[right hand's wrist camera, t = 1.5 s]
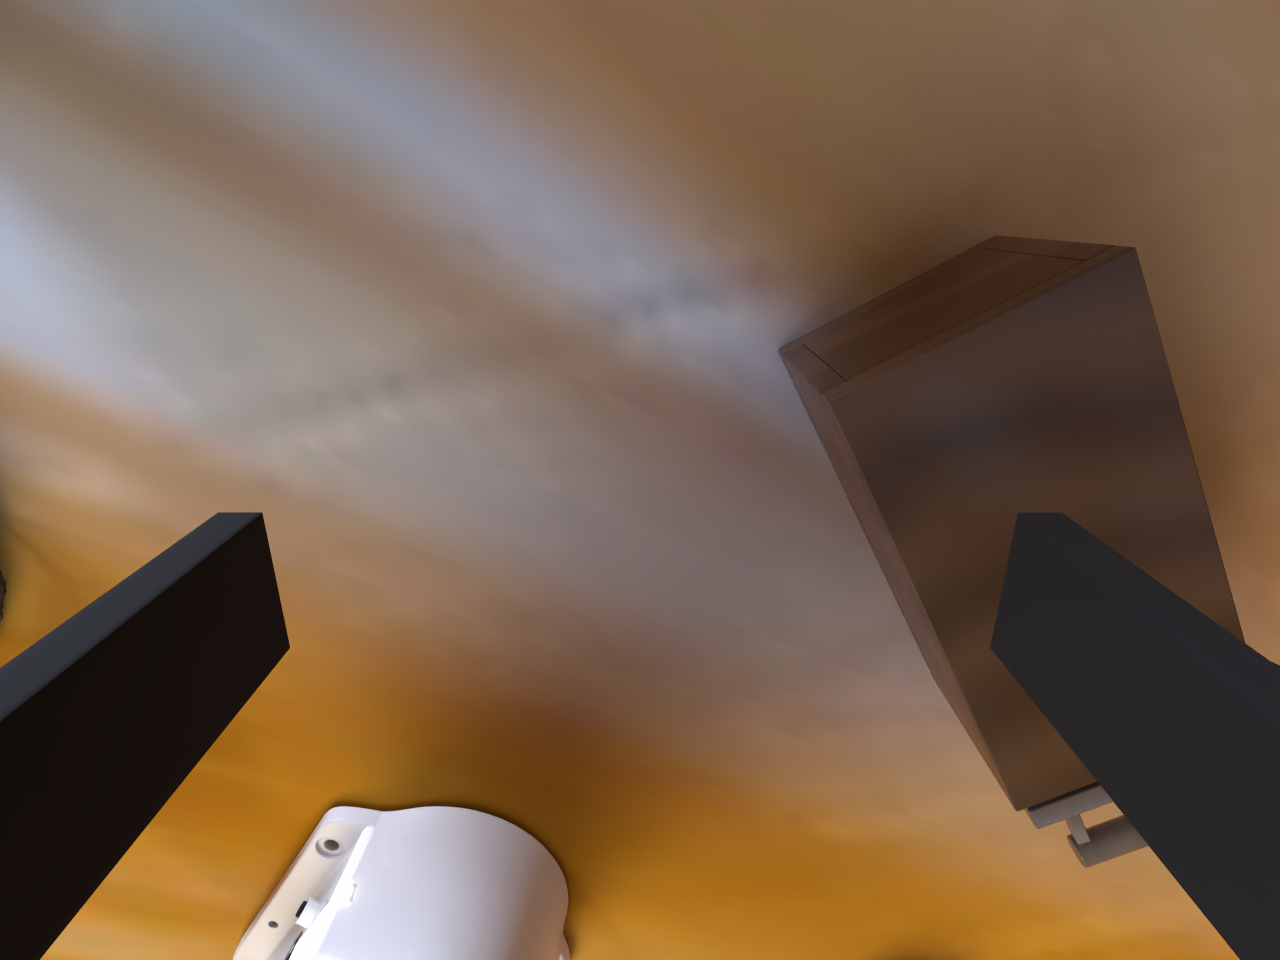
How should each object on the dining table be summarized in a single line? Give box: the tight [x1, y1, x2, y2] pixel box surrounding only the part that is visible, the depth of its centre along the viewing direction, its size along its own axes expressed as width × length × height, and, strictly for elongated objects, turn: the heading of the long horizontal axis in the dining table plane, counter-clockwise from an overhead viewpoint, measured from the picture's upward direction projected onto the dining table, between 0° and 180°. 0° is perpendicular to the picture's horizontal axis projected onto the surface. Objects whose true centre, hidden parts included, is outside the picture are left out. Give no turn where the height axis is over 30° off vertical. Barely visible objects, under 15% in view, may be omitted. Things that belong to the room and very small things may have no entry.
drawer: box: [1024, 782, 1149, 868], centre depth 32 cm, size 25×9×7 cm, turn 29°
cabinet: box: [778, 236, 1245, 811], centre depth 30 cm, size 20×10×9 cm, turn 29°
